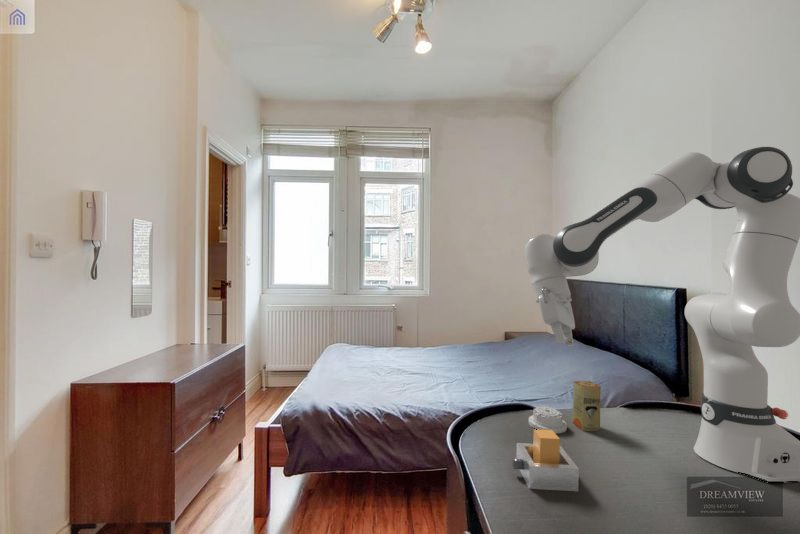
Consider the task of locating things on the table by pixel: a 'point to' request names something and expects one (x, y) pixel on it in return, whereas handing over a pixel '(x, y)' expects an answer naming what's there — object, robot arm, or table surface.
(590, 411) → the shoe polish box
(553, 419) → the mechanical component
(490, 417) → the table surface
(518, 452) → the white shallow box
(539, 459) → the plug
